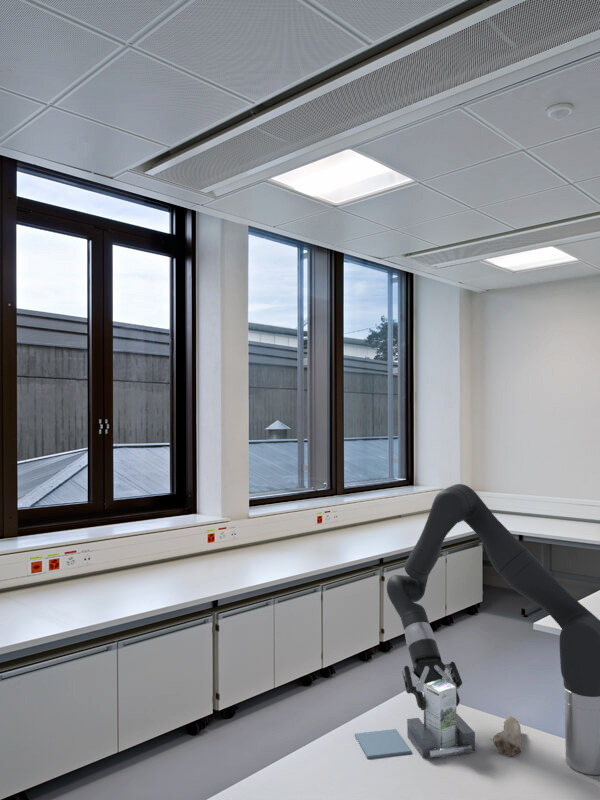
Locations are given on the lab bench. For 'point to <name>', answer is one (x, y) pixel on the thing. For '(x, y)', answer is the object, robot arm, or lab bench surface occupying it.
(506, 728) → the bone fragment
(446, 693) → the syrup box
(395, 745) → the mat
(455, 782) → the lab bench surface
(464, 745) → the vise
